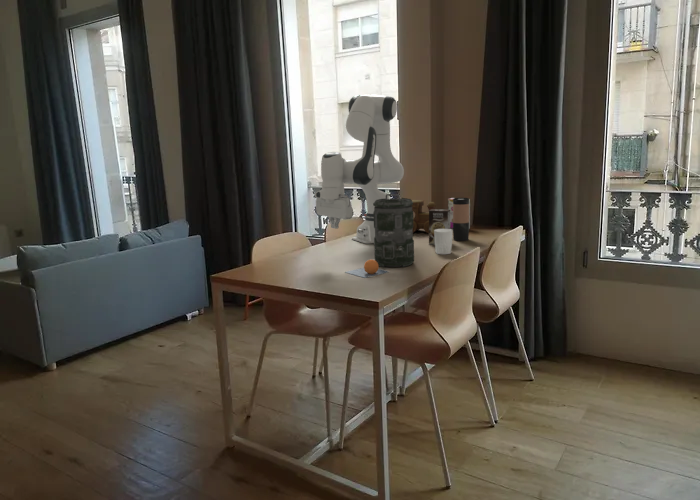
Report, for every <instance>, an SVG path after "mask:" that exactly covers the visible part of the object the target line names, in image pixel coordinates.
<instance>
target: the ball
mask: <svg viewBox="0 0 700 500" xmlns="http://www.w3.org/2000/svg"><path fill="white" fill-rule="evenodd" d="M363 268H364V269H365V271H366V272H367V273H368V274H374V273H376V272H377V271H378V269H380V266H379V265H378V263H377V262H376V261H375V259H367V260H366V261H365V262H364V265H363Z"/></svg>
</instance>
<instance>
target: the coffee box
mask: <svg viewBox="0 0 700 500" xmlns="http://www.w3.org/2000/svg"><path fill="white" fill-rule="evenodd" d="M428 212H429V233H428V245H433V246H435V239H434V230H436V229H450V210H448V208H447V209H445V208H444V209H443V208H442V209H440V208H438V209H437V208H435V209H431V210H429V209H428Z"/></svg>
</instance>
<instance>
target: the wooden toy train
mask: <svg viewBox="0 0 700 500" xmlns="http://www.w3.org/2000/svg"><path fill="white" fill-rule="evenodd" d="M411 200H412V202H413V205H412V211H413V214H414V216H413V233H416V232H417V231H419V230H424V232H425V233H426V234H429V210H431V209H436V206H437V205H436V204H435V202H434V201H429V202H428V203H427V205H426V207H427V210H428V211H427V212H426V211H425V212H423V206H424V204H425V203H424V201H425V200H423V199H411Z"/></svg>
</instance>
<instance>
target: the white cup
mask: <svg viewBox="0 0 700 500" xmlns="http://www.w3.org/2000/svg"><path fill="white" fill-rule="evenodd" d="M434 239H435V245H434V247H435V248H434V249H435V250H434V251H435V254H437V255H449V254H451V253H452V247H453V229H436V230H434Z"/></svg>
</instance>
